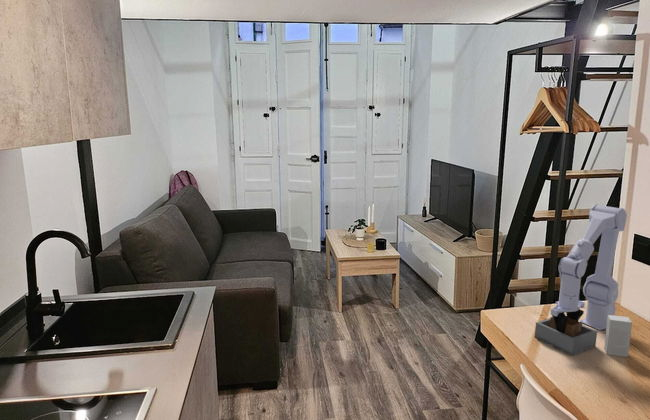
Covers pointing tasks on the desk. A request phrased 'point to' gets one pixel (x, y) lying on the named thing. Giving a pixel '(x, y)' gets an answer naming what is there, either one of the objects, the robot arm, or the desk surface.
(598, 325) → the robot arm
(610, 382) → the desk surface
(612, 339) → the skincare box
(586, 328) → the big crate
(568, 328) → the small crate
